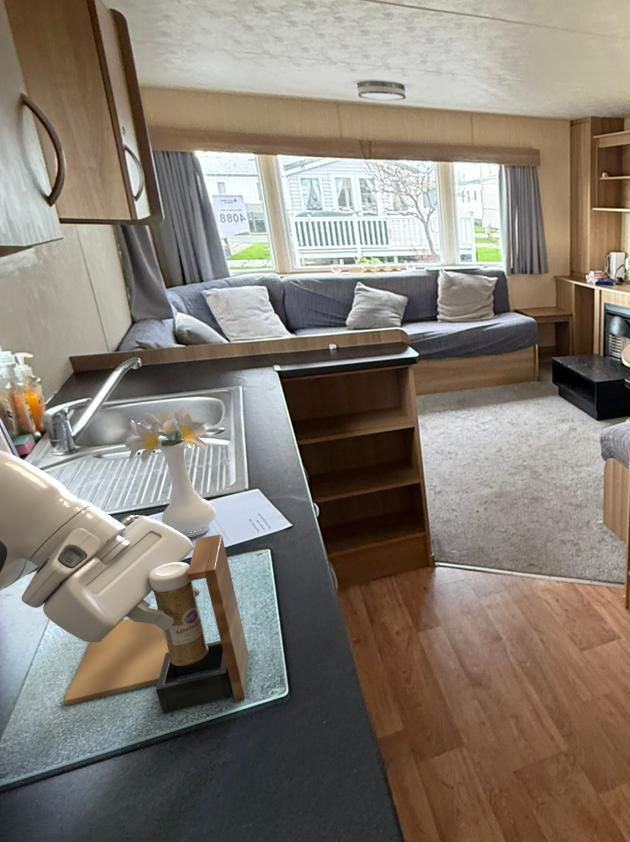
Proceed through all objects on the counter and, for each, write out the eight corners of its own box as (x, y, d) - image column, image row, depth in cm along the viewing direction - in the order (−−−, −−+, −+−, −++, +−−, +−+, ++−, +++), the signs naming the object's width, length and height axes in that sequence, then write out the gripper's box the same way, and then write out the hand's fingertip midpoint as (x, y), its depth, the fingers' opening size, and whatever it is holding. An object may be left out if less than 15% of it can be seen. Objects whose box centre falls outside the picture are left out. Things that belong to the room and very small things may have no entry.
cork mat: (65, 705, 86) (63, 701, 86) (98, 629, 101) (97, 625, 101) (170, 680, 90) (169, 675, 90) (187, 611, 106) (186, 606, 106)
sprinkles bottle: (194, 668, 85) (173, 580, 81) (161, 666, 86) (138, 578, 81) (216, 646, 90) (197, 561, 85) (185, 644, 90) (164, 559, 85)
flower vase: (228, 506, 142) (204, 396, 134) (225, 542, 127) (198, 421, 118) (158, 517, 137) (128, 404, 128) (146, 557, 121) (112, 432, 113)
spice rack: (161, 719, 84) (122, 586, 77) (173, 671, 92) (138, 547, 85) (244, 698, 87) (214, 569, 80) (248, 653, 96) (221, 534, 89)
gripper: (120, 525, 91) (207, 583, 95) (9, 609, 72) (124, 677, 76) (147, 495, 90) (233, 555, 94) (41, 573, 71) (156, 644, 75)
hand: (183, 611), depth 85 cm, fingers closed on sprinkles bottle, 4 cm apart
